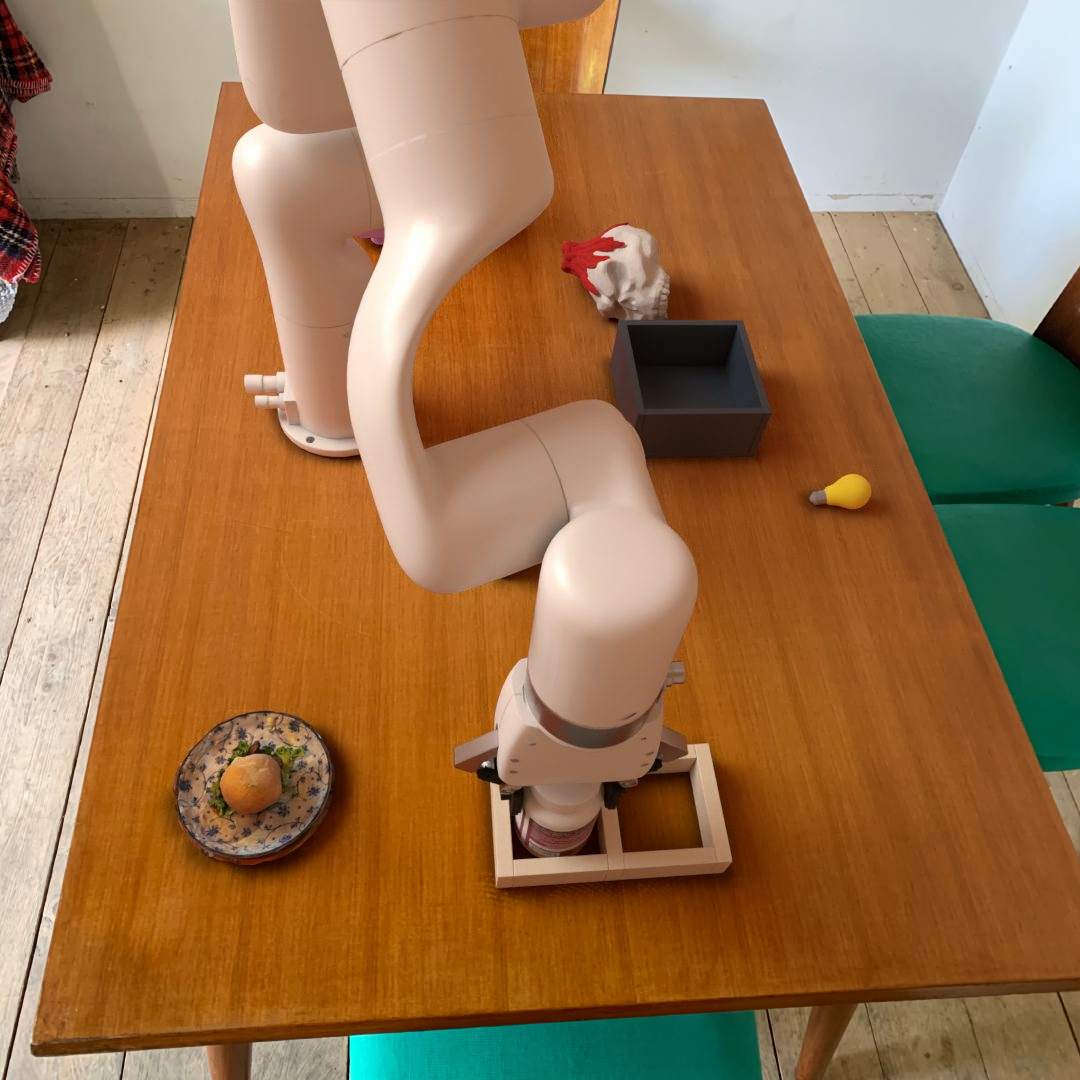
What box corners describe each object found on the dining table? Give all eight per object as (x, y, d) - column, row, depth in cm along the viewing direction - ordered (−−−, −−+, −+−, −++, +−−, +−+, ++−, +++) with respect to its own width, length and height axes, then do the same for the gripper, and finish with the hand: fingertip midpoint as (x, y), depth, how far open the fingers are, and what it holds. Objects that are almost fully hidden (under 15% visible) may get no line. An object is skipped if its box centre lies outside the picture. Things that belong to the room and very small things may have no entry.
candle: (661, 345, 104) (539, 316, 108) (690, 286, 110) (573, 261, 114) (667, 278, 97) (536, 251, 101) (697, 220, 103) (573, 196, 107)
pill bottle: (606, 835, 72) (629, 783, 63) (541, 878, 70) (555, 831, 60) (562, 771, 75) (578, 712, 65) (498, 810, 72) (505, 755, 63)
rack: (496, 888, 69) (497, 877, 66) (489, 768, 74) (490, 754, 72) (723, 873, 71) (732, 861, 68) (700, 757, 76) (708, 743, 74)
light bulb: (871, 509, 93) (877, 498, 90) (811, 520, 94) (815, 509, 91) (863, 478, 94) (869, 466, 91) (804, 489, 95) (808, 477, 92)
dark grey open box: (627, 458, 95) (637, 414, 89) (610, 365, 102) (618, 319, 97) (754, 456, 96) (772, 413, 91) (728, 364, 104) (743, 319, 99)
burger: (336, 713, 76) (326, 672, 70) (335, 858, 69) (323, 826, 63) (185, 725, 74) (161, 684, 68) (169, 874, 68) (141, 843, 62)
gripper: (726, 617, 55) (668, 737, 70) (436, 627, 53) (439, 749, 68) (753, 734, 51) (686, 836, 65) (439, 750, 49) (442, 852, 63)
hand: (560, 791), depth 66 cm, fingers closed on pill bottle, 6 cm apart
